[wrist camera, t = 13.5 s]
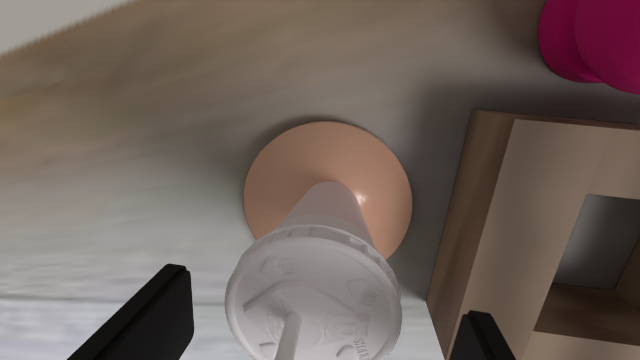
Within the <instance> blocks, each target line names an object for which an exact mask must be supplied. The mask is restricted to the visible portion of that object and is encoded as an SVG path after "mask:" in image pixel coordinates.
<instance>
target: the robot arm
mask: <svg viewBox="0 0 640 360" xmlns="http://www.w3.org/2000/svg"><path fill="white" fill-rule="evenodd" d="M193 334H194V320H193V305H192V290H191V275H190V272H189V271H187V269H186V267H185V266H182V265H175V264H167V265H165V266H164V267H163V268H162V269H161V270H160V271H159V272H158V273H157V274H156V275H155V276H154V277H153V278H152V279H151V280H150V281H149V282H147V283H146V284H145V285H144V286H143V287H142V288H141V289H140V290H139V291H138V292H137V293H136V294H135V295H134V296H133V297H132V298H131V299H130V300H129V301H128V302H127V303H125V304H124V305H123V306H122V307H121V308H120V309H119V310H118V311H117V312H116V313H115V314H114V315H113V316H112V317H111V318H110V319H109V320H108V321H107V322H106V323H105V324H104V325H102V326H101V327H100V328H99V329H98V330H97V331H96V332H95V333H94V334H93V335H92V336H91V337H90V338H89V339H88V340H87V341H86V342H85V343H84V344H83V345H82V346H80V347H79V348H78V349H77V350H76V351H75V352H74V353H73V354H72V355H71V356H70V357H69V358H68V359H67V360H179V359H180V357H181V355H182V354H183V352H184V351H185V349H186V348H187V346H188V345H189V343H190V342H191V340H192V337H193ZM449 360H516V358H515V356H514V355H513V353H512V351H511V349H510V347H509V346H508V344H507V342H506V340H505V338H504V337H503V335H502V333H501V331H500V329H499V328H498V326H497V324H496V322H495V320H494V318H493V317H492V315H491V314H490V313H487V312H480V311H474V310H470V311H469V312H468V314H463V315H462V318H461V321H460V324H459V328H458V331H457V335H456V338H455V341H454V345H453V348H452V351H451V355H450V358H449Z"/></svg>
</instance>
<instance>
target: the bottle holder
mask: <svg viewBox="0 0 640 360" xmlns="http://www.w3.org/2000/svg"><path fill="white" fill-rule="evenodd" d="M586 194H593V195H602V196H612V197H621V198H630V199H639V200H640V124H631V123H620V122H609V121H598V120H588V119H577V118H566V117H555V116H544V115H534V114H523V113H512V112H501V111H491V110H480V109H472V112H471V116H470V120H469V124H468V128H467V133H466V137H465V141H464V145H463V149H462V153H461V158H460V162H459V166H458V170H457V174H456V178H455V183H454V187H453V191H452V195H451V199H450V203H449V208H448V212H447V216H446V220H445V224H444V228H443V233H442V237H441V241H440V245H439V249H438V254H437V258H436V262H435V266H434V270H433V274H432V279H431V283H430V287H429V291H428V295H427V299H426V304H427V307H428V310H429V313H430V316H431V319H432V322H433V325H434V328H435V331H436V334H437V337H438V341H439V344H440V347H441V350H442V353H443V356H444V359H445V360H449V358H450V355H451V351H452V348H453V345H454V341H455V338H456V335H457V331H458V328H459V324H460V321H461V318H462V315H463V314H468V312H469V311H470V310H474V311H480V312H487V313H490V314H491V315H492V317H493V318H494V320H495V322H496V324H497V326H498V328H499V329H500V331H501V333H502V335H503V337H504V338H505V340H506V342H507V344H508V346H509V347H510V349H511V351H512V353H513V355H514V356H515V358H516V360H640V238H639V240H638V242H637V244H636V246H635V248H634V250H633V252H632V255H631V257H630V259H629V261H628V263H627V265H626V267H625V269H624V271H623V273H622V275H621V278H620V280H619V282H618V284H617V286H616V288H615V290H614V291H611V290H604V289H596V288H588V287H581V286H573V285H565V284H558V283H552V281H553V278H554V276H555V273H556V271H557V268H558V266H559V263H560V261H561V258H562V256H563V253H564V250H565V248H566V245H567V243H568V240H569V238H570V235H571V233H572V230H573V228H574V225H575V222H576V220H577V217H578V215H579V212H580V210H581V207H582V205H583V202H584V200H585V197H586Z"/></svg>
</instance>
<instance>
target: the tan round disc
mask: <svg viewBox="0 0 640 360" xmlns="http://www.w3.org/2000/svg"><path fill="white" fill-rule="evenodd" d="M325 181H334V182H338V183H341V184H343V185H345V186H347V187H348V188H349V189H350V190H351V191H352V192H353V193H354V194H355V196H356V198H357V201H358V203H359V206H360V209H361V211H362V214H363V216H364V219H365V222H366V224H367V227H368V230H369V232H370V235H371V238H372V240H373V243H374V245H375V248H376V250H377V251H378V252H379V253H380V254H381V255H383V257H384V258H385V260H387V259H388V258H389V257H390V256H391V255H392V254H393V253H394V252H395V250H396V249H397V248H398V247H399V245H400V244H401V242H402V240H403V239H404V237H405V235H406V232H407V230H408V227H409V224H410V220H411V215H412V193H411V187H410V184H409V181H408V178H407V175H406V173H405V171H404V169H403V167H402V165H401V163H400V162H399V160H398V159H397V157H396V156H395V154H394V153H393V152H392V151H391V149H390V148H389V147H388V146H387V145H386V144H385V143H384V142H383V141H381V140H380V139H379V138H378V137H376V136H375V135H373V134H372V133H370V132H368V131H366V130H364V129H362V128H360V127H358V126H355V125H351V124H348V123H344V122H338V121H315V122H309V123H305V124H301V125H298V126H296V127H293V128H291V129H289V130H287V131H285V132H284V133H282V134H280V135H279V136H278V137H276V138H275V139H274V140H272V141H271V142H270V143H269V144H268V145H267V146H266V147H265V148H264V149H263V150H262V151H261V152H260V153H259V155H258V156H257V157H256V159H255V160H254V162H253V164H252V166H251V167H250V170H249V172H248V175H247V178H246V182H245V187H244V197H243V199H244V210H245V215H246V219H247V222H248V225H249V228H250V230H251V232H252V234H253V236H254V237H255V239H256V240H257V239H259V238H261V237H263V236H264V235H266V234H268V233H270V232H271V231H273V230H274V229H275V228H276V227H277V226H278V225H279V224H280V222H281V221H282V220H283V219H284V218H285V217H286V215H287V214H288V213H289V212H290V211H291V210H292V209H293V207H294V206H295V205H296V204H297V203H298V202H299V200H300V199H301V198H302V197H303V196H304V195H305V193H306V192H307V191H308V190H309V189H310V188H311V187H312V186H314V185H316V184H318V183H320V182H325Z"/></svg>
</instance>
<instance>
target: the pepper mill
mask: <svg viewBox="0 0 640 360" xmlns="http://www.w3.org/2000/svg"><path fill="white" fill-rule="evenodd" d="M538 39H539V47H540V51H541V53H542V56H543V58H544V60H545V61H546V63H547V64H548V66H549V67H550V68H551V69H552V70H553V71H554V72H555V73H557V74H558V75H560V76H561V77H563V78H565V79H568V80H571V81H575V82H580V83H605V84H607V85H609V86H611V87H613V88H615V89H617V90H620V91H624V92H628V93H633V94H639V95H640V0H547V1H546V4H545V6H544V8H543V10H542V14H541V17H540V22H539V27H538Z"/></svg>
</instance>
